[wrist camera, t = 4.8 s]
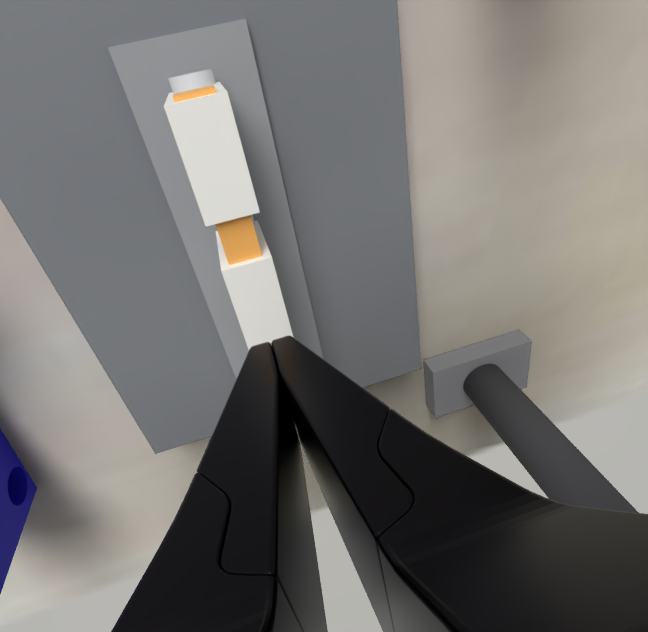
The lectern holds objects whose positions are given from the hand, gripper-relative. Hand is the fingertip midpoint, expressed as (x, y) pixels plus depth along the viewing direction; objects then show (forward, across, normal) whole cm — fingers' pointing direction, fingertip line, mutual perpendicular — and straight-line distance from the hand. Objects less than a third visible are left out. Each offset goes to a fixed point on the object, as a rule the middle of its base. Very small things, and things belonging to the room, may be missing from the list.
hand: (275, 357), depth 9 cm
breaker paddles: (+5, 0, 0) cm, 5 cm away
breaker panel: (+8, 0, 0) cm, 8 cm away
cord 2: (+8, -9, +10) cm, 15 cm away
